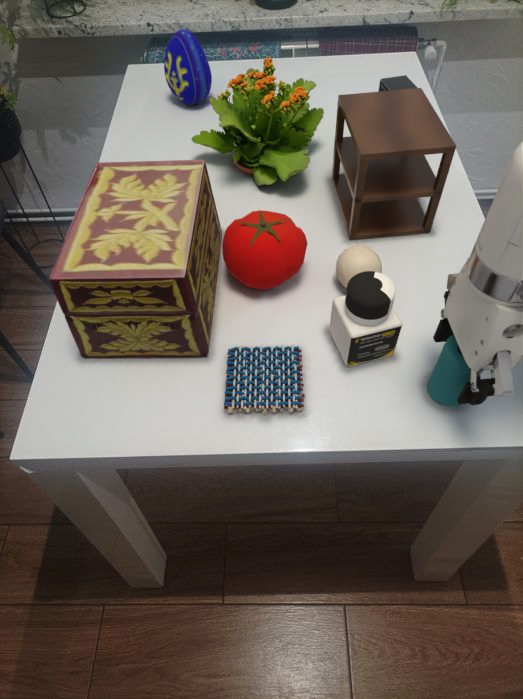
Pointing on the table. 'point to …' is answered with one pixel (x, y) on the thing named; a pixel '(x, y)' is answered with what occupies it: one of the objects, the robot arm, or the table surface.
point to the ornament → (187, 68)
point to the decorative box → (141, 261)
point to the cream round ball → (356, 262)
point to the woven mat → (264, 379)
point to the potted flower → (264, 124)
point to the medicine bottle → (365, 319)
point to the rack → (388, 162)
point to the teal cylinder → (449, 375)
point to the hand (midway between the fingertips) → (457, 368)
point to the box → (396, 83)
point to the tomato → (264, 249)
